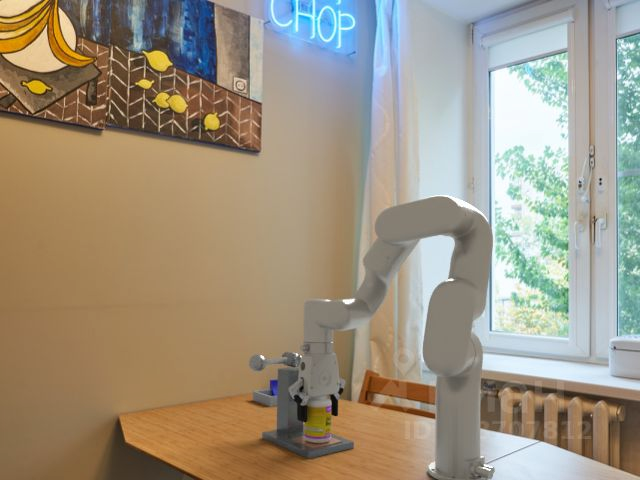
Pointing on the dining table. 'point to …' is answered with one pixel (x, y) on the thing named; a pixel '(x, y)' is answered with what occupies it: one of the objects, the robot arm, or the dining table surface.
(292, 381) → the press frame
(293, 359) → the press lever
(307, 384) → the robot arm
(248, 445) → the dining table surface
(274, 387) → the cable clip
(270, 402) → the tray
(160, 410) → the dining table surface
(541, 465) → the dining table surface
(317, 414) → the supplement bottle
